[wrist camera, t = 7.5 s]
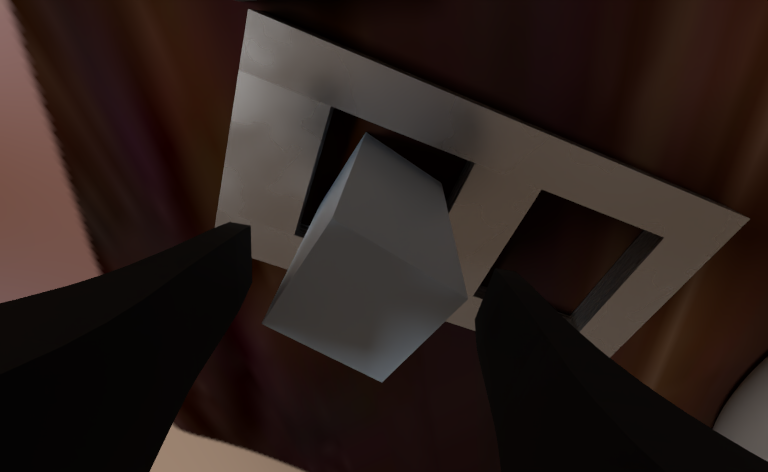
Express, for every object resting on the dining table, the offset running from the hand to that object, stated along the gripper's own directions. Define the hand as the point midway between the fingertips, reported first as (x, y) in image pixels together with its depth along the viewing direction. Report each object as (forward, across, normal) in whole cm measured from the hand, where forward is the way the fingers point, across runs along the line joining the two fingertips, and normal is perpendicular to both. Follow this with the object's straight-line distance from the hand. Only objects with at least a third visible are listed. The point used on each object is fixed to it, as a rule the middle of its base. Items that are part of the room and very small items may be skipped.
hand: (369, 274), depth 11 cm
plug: (+7, 0, 0) cm, 7 cm away
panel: (+7, -4, +1) cm, 8 cm away
